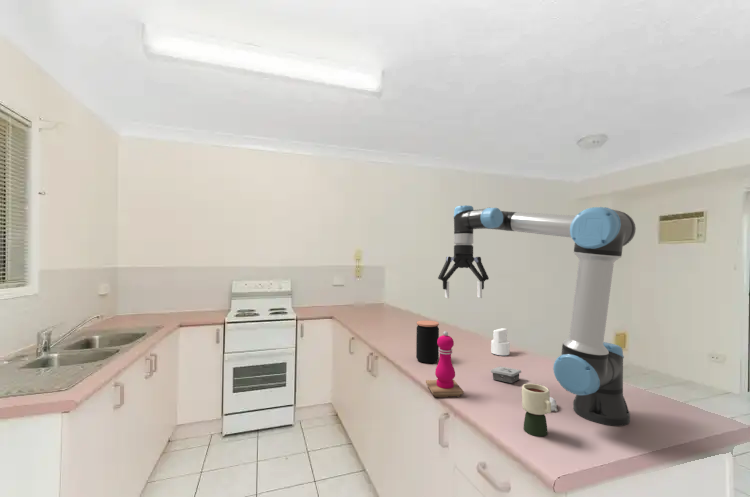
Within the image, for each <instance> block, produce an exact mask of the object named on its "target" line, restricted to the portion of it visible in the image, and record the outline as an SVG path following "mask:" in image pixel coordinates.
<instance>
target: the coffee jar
mask: <svg viewBox="0 0 750 497" xmlns="http://www.w3.org/2000/svg"><path fill="white" fill-rule="evenodd" d="M439 326H440V324H439V321H435V320H418V321H416V336H415V337H416V339H415V340H416V345H415V346H416V347H415V348H416V352H415V354H416V360H417V361H418V362H420V363H425V364H434V363H438V361H439V359H440V353H439V346H438V344H437V340H438V338H439V337H440V330H439Z"/></svg>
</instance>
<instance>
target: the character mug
mask: <svg viewBox="0 0 750 497" xmlns="http://www.w3.org/2000/svg"><path fill="white" fill-rule="evenodd" d="M521 387H522V388H521V406H522V409H523V410H524V411H525V415H524V421H523V431H524V432H525V433H527V435H530V436H532V437H533V436H534V437H547V436H548V433H549V432H548V425H547V418H546V415H547V414H551V413H552V411H551V402H550V397H551V394H550V389H549V388H548V387H546V386H545V385H542V384H537V383H524V384H522V386H521Z"/></svg>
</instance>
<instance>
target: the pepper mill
mask: <svg viewBox="0 0 750 497" xmlns="http://www.w3.org/2000/svg"><path fill="white" fill-rule="evenodd" d="M437 344H438V346H439V359H438V361H437V363H438V364H437V365H436V367H435V372H434V373H435V377H436V378H437V379H436V380H437V382H436V384H437V386H438V387H440V388H444V389H449V388H453V386H454V381H455V378H456V371H455V368H454V365H453V363H452V362H453V361H452V354H453V349H452V348H453V347H454V346H455V345H454V344H455V343H454V339H453V338H452V337H451V336H450V335H449V333H448V331H446V330H444V331H443V335H439V338H438V340H437ZM453 380H454V381H453Z"/></svg>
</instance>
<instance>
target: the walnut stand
mask: <svg viewBox="0 0 750 497" xmlns="http://www.w3.org/2000/svg"><path fill="white" fill-rule="evenodd" d="M453 381H454V386H453V388H449V389H444V388H440V387H438V386H437V384H436V382H437V379H429V380H427V379H426V380H425V383H426V385H427V387H428V388H429V390H430V392H431V394H432V395H433V396H434V398H446V397H447V398H449V397H448V396H458V397H461V395H465V391H464V390H463V389H462V387H461V386H460V385H459V384H458V383H457V382H456V381H455V379H453Z"/></svg>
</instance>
